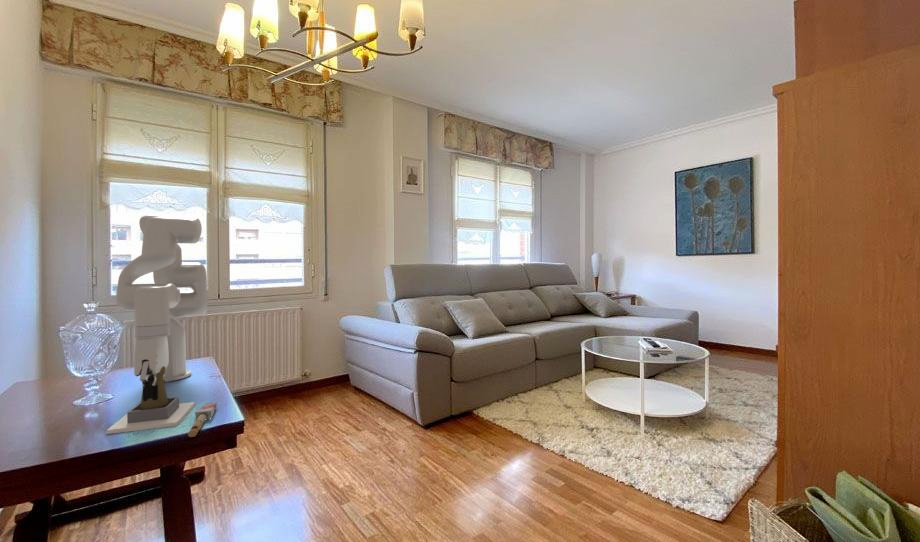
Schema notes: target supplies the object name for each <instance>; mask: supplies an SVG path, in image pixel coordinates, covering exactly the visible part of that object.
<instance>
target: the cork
mask: <svg viewBox="0 0 920 542" xmlns="http://www.w3.org/2000/svg"><path fill="white" fill-rule="evenodd" d="M148 374H153V373H152V372H149V373H148ZM164 374H165V367H164V366H163V367H162V368H161V371H160V372H159V373H157V379H156V385H158V399H157V400H153V399H152V398H150V399H148V400H147V401H143V390H142V391H141V399H140V402H141V406H140V408H141V409H153V408H158V407H161V406H164V405H166V404H168V399H167V398H168V396H167V389H166V382H165V383H164V378H163V375H164ZM149 378H151V379H152V378H153V376H151V377H149Z"/></svg>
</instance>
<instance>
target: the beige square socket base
mask: <svg viewBox="0 0 920 542" xmlns="http://www.w3.org/2000/svg"><path fill="white" fill-rule="evenodd" d="M167 399H168V404H166V405H164V406H161V407H158V408H153V409H141V408H140V406H141V401H140V402H138V403H137V404H135V406H133V407H132V408H131V409H129V410H128V411H127V412H126V414H125V415H124V416H122V417H121V418H120V419H119V420H117V421H116V422H115V423H114V424H112V425H111V426H109V428H108V429H106V430H105V431H106V435H110V434H111V435H112V434H118V433H120V434H121V433H127V432H134V431H144V430H145V431H146V430H152V429H153V430H154V429H162V428H168V427H176V426H179V424H180V423H181V422H182V421H183V420H184V419H185V418H186V416H188V414H189V413H190V412H191V411H192V410H193V409H194V407H195V406H196V402H195V401H191V402H182V403H180V396H174V397H167Z"/></svg>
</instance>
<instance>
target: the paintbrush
mask: <svg viewBox="0 0 920 542" xmlns="http://www.w3.org/2000/svg"><path fill="white" fill-rule="evenodd" d="M217 404H218V401H214V402H206V403H205V404H204V405H203V406H201V407H200V408H199V409H198V410H196V411H195V412H194V414H195V415H194V416H195V418H194V423H193V425H192V427H191V428H190V429H189V431H188V433H187V437H189V438H194V437H196V436H197V435H198V433H199V431H200V430H201V428H202V426H203V424H204V423H205V421H206V420H205V419H210V418H212V419H213V417H212V416H214V414H215V411H216V408H217ZM195 421H196V422H195Z"/></svg>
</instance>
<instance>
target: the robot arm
mask: <svg viewBox="0 0 920 542" xmlns="http://www.w3.org/2000/svg"><path fill="white" fill-rule="evenodd" d="M138 224H139V228H140V231H141V233H142V234H143V235H142V243H141V244H142V247H141V254H140V255H139V256H137V257H136V258H134V259H133V260H132V261H130V262H129V263H128V264H127V265H126V266H124V268H123V269H122V271H120V273H119V276H118V279H117V280H118V281H117V288H116V294H115V301H116V305H117V307H118V308H119V309H121V310H122V311H127V312H134V315H133V316H134V339H136V341H135V347H134V348H135V349H134V364H133V375H134V376H135V377H139V376H140V377H139V380H140V381H141V382H142V383H141V386H142V391H143V401H147V400H148V399H150V398H152V399H153V400H157V399H158V385H156V379H157V373H159V372H160V371H161V368H162V367H163V366H164V367H165V374H164V375H163V378H164V383H165V384H166V383H167V382H173V381H178V380H179V381H180V380H182V379H185V378H188V377H190V376H191V375H192V371H191V370H190V369H187V350H186V348H187V347H186V346H187V345H186V328H185V326H184V325H183V323H181V322H180V320H178V319H177V318H185V317H186V318H188V317H189V318H190V317H199V316H203V315H205V314H206V313H207V311H208V305H209V304H208V279H207V278H208V277H207V269H206V267H205V266H204V264H203V263H201V262H189V261H188V262H186V261H185V262H184V261H183V255H182V252H183V251H182V248H181V246H180V245H179V244H197V243H198V242H199V241H200V238H201V235H202V232H203V231H202V230H203V228H202V226H203V225H202V223H201V220H200V219H199V218H198V217H196V216H190V215H175V214H174V215H173V214H146V215H143V216H141V217H140V218H139V223H138ZM150 273H152V277H153V283H134V282H135V281H136V280H137V279H139V278H141V277H143V276H144V275H148V274H150ZM180 289H191V290H189V291H181V290H180ZM149 372H152V373H153V374H148V373H149ZM151 376H153V378H152V379H151V378H149V377H151Z"/></svg>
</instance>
